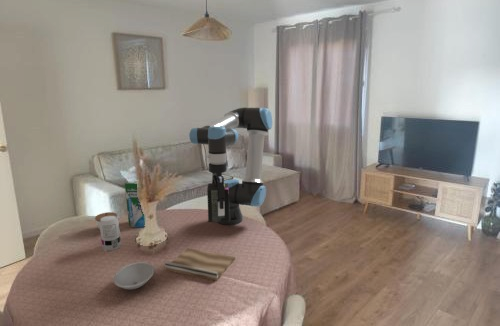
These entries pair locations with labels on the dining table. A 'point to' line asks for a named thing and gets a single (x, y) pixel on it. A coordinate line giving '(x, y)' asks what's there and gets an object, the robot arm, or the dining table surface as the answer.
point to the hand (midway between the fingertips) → (218, 210)
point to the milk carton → (134, 206)
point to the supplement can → (110, 233)
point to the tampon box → (213, 204)
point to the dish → (133, 275)
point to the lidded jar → (103, 216)
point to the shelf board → (200, 264)
